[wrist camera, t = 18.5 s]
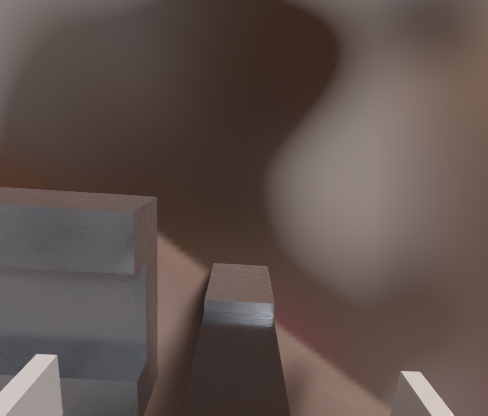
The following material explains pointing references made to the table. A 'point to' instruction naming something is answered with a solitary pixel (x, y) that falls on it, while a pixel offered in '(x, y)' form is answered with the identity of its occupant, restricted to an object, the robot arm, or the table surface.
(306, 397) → the table surface
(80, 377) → the slot board
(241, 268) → the stepped gray block
